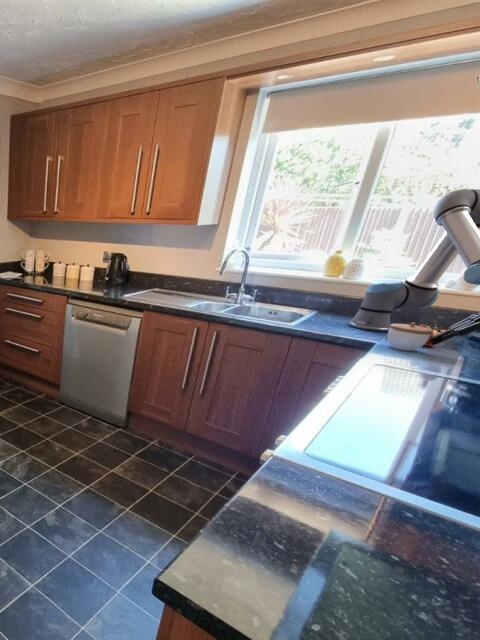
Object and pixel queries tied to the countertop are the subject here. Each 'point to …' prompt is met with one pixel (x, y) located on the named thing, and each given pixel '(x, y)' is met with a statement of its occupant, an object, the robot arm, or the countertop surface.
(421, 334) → the lidded bowl
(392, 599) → the countertop surface
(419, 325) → the butter dish
